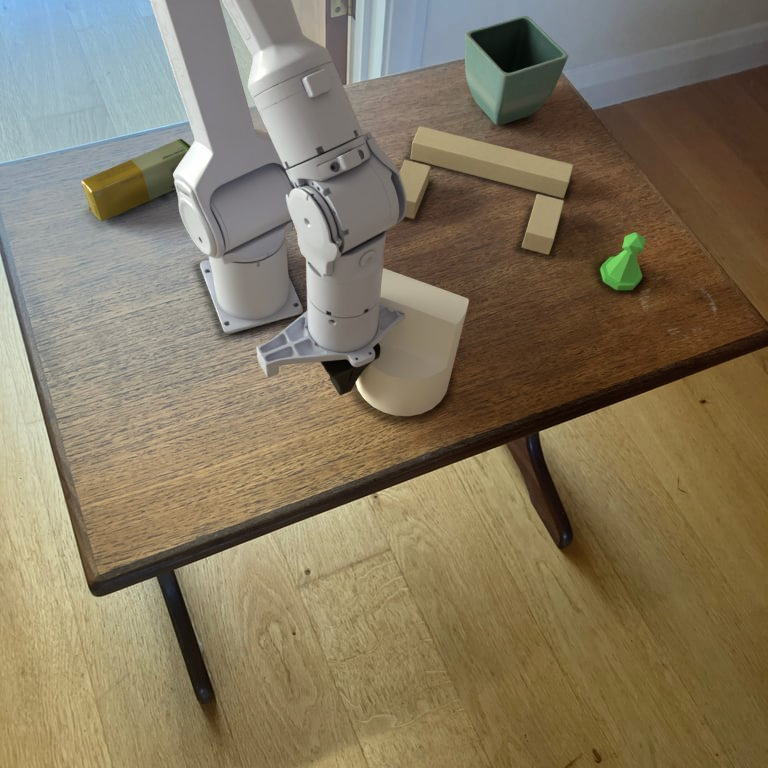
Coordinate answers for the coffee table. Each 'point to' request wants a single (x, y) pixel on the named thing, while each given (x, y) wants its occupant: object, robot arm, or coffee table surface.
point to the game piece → (624, 264)
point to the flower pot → (512, 68)
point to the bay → (491, 177)
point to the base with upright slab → (414, 347)
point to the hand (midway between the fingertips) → (340, 385)
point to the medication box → (134, 181)
